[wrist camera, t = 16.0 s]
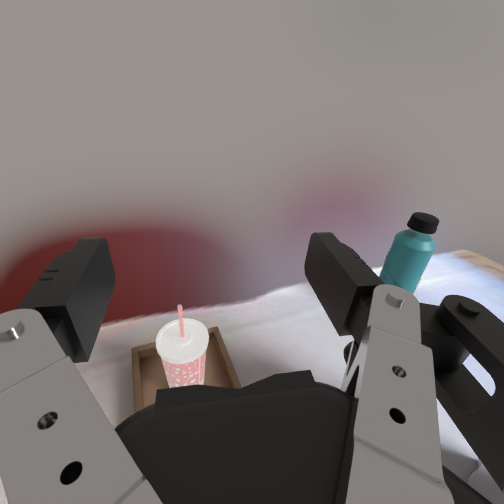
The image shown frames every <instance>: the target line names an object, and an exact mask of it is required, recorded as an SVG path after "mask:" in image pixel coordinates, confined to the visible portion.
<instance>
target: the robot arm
mask: <svg viewBox="0 0 504 504" xmlns="http://www.w3.org/2000/svg"><path fill="white" fill-rule="evenodd" d="M305 275H306V277H307V279H308V281H309V283H310V285H311V286H312V288H313V290H314V292H315V294H316V295H317V297H318V299H319V301H320V302H321V304H322V306H323V308H324V310H325V311H326V313H327V315H328V317H329V318H330V320H331V322H332V324H333V326H334V327H335V329H336V331H337V333H338V334H339V336H345V335H352V336H353V338H354V340H353V342H352V345H351V349H350V354H349V358H348V362H347V366H346V371H345V375H344V379H343V383H342V387H341V390H340V389H338V388H336V387H333V386H330V385H328V384H324V383H320V382H315V381H314V378H313V376H312V373H311V371H310V370H305V371H297V372H289V373H281V374H275V375H272V376H270V377H268V378H265V379H263V380H260V381H258V382H255V383H253V384H250V385H248V386H246V387H243V388H239V389H233V388H225V387H216V386H208V385H199V384H196V385H188V386H180V387H172V388H165V389H157V390H156V399H155V403H154V404H151V405H149V406H147V407H145V408H143V409H141V410H139V411H137V412H136V413H134V414H133V415H131V416H130V417H128V418H127V419H126V420H125V421H123V422H122V423H121V424H119V425H118V426H117V427H116V428H115V429H114V428H113V426H112V425H111V423H110V422H109V420H108V418H107V417H106V415H105V413H104V412H103V410H102V409H101V407H100V405H99V404H98V402H97V400H96V399H95V397H94V396H93V394H92V392H91V391H90V389H89V388H88V386H87V384H86V383H85V381H84V379H83V378H82V376H81V375H80V373H79V371H78V370H77V368H76V366H75V365H74V363H79V362H88V360H89V357H90V355H91V352H92V349H93V346H94V343H95V341H96V338H97V335H98V332H99V329H100V327H101V324H102V321H103V318H104V315H105V313H106V310H107V307H108V304H109V301H110V298H111V296H112V293H113V290H114V287H115V271H114V267H113V263H112V259H111V255H110V251H109V246H108V243H107V240H106V239H105V238H103V237H102V238H81V239H80V240H79V241H78V243H77V244H76V245H75V247H74V248H73V250H72V251H71V252H64V253H63V254H61V255H60V256H58V257H57V258H56V259H54V260H53V261H52V262H51V263H50V264H49V266H48V267H47V268H46V270H45V273H43V274H42V275H41V277H40V278H39V281H37V282H36V283H35V285H34V286H33V287H32V289H31V290H30V291H29V293H28V294H27V295H26V297H25V298H24V299H23V301H22V302H21V303H20V305H19V306H18V308H17V309H16V310H13V311H9V312H6V313H3V314H0V476H1V479H2V483H3V486H4V490H5V493H6V497H7V500H8V504H504V323H503V322H502V321H501V320H500V319H498V318H497V317H496V316H495V315H494V314H493V313H491V312H490V311H489V310H488V309H487V308H485V307H484V306H483V305H481V304H480V303H478V302H476V301H474V300H472V299H469V298H467V297H464V296H459V295H448V296H446V297H444V299H443V301H442V302H441V304H440V306H436V305H430V304H424V303H419V302H418V300H417V299H416V298H415V296H414V295H412V294H411V293H410V292H408V291H407V290H405V289H403V288H400V287H398V286H394V285H389V284H384V283H383V281H382V280H381V279H380V278H379V277H378V276H377V275H376V274H375V273H374V272H373V271H372V269H371V268H370V267H369V266H368V265H366V263H365V262H364V261H363V260H362V259H360V256H359V255H358V254H357V253H356V252H355V251H354V250H353V249H351V248H350V247H348V246H346V245H345V244H343V243H341V242H340V241H339V240H338V239H337V238H336V237H335V236H334V235H333V233H331V232H322V233H313V234H312V235H311V238H310V242H309V246H308V251H307V256H306V260H305ZM470 353H471V355H472V356H473V357H474V358H475V359H476V360H477V361H478V362H479V363H480V364H481V365H482V366H483V367H484V369H485V370H486V371H487V372H488V373H489V374H490V375H491V377H492V378H493V380H494V382H495V387H496V389H495V393H494V394H493V395H492V396H490V395H489V394H488V393H487V391H486V390H485V389H484V388H483V387H482V386H481V384H480V383H479V382H478V381H477V380H476V379H475V378H474V376H473V375H472V374H471V373H470V372H469V371H468V369H467V368H466V367H465V366H464V365H463V364H462V363H463V362H464V361H465V359H466V358H467V357H468V356H469V354H470ZM436 397H437V399H438V400H439V402H440V403H441V405H442V406H443V408H444V409H445V410H446V412H447V413H448V415H449V416H450V418H451V419H452V420H453V422H454V423H455V425H456V426H457V428H458V429H459V431H460V432H461V433H462V435H463V436H464V438H465V439H466V441H467V442H468V443H469V445H470V446H471V448H472V449H473V451H474V452H475V454H476V455H477V456H478V458H479V460H478V469H477V470H475V471H474V472H473V473H472V474H471V475H470V477H469V478H468V480H467V483H465V482H464V481H463V480H462V479H460V478H459V477H458V476H456V475H455V474H454V473H452V472H451V471H450V470H448V469H447V468H446V467H445V466H443V465H442V460H441V448H440V437H439V425H438V413H437V401H436Z"/></svg>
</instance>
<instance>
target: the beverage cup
mask: <svg viewBox="0 0 504 504" xmlns="http://www.w3.org/2000/svg"><path fill="white" fill-rule="evenodd" d="M178 316H179V319H178V320H174V321H172V322H170V323H168V324H166V325H165V326H164V327H163V328H162V329H161V330H160V331H159V333H158V335H157V337H156V349H157V352H158V354H159V355H160V357H161V359H162V363H163V366H164V370H165V374H166V377H167V381H168V385H169V388H172V387H180V386H188V385H196V384H199V385H203V383H204V374H205V359H206V349H207V346H208V342H209V334H208V330H207V328H206V327H205V326H204V325H203V324H202V323H201V322H199V321H197V320H195V319H188V318H183V312H182V305H178Z"/></svg>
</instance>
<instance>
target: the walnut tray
mask: <svg viewBox="0 0 504 504" xmlns="http://www.w3.org/2000/svg"><path fill="white" fill-rule="evenodd" d="M207 330H208V334H209V342H208V346H207V349H206V359H205V374H204V383H203V385H208V386H216V387H225V388H233V389H239V388H241V385H240V383H239V380H238V378H237V375H236V373H235V370H234V367H233V365H232V362H231V360H230V357H229V355H228V352H227V350H226V347H225V344H224V342H223V339H222V337H221V334H220V332H219V329H218V327H213V328H209V329H207ZM132 365H133V383H134V400H135V413H136V412H137V411H139V410H141V409H143V408H145V407H147V406H149V405H151V404H154V403H155V399H156V390H157V389H165V388H169V385H168V381H167V377H166V374H165V370H164V366H163V363H162V359H161V357H160V355H159V354H158V352H157V349H156V342H154V343H151V344H147V345H143V346H139V347H135V348H132Z"/></svg>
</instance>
